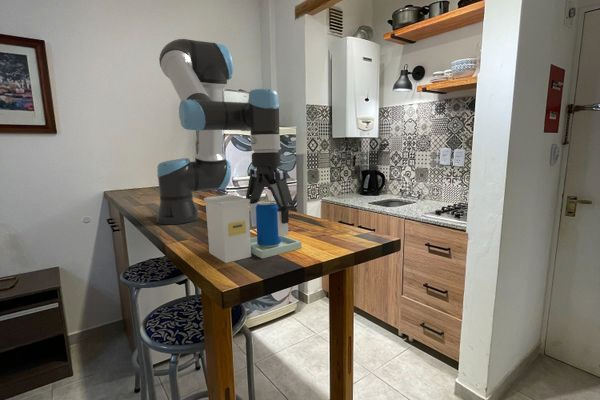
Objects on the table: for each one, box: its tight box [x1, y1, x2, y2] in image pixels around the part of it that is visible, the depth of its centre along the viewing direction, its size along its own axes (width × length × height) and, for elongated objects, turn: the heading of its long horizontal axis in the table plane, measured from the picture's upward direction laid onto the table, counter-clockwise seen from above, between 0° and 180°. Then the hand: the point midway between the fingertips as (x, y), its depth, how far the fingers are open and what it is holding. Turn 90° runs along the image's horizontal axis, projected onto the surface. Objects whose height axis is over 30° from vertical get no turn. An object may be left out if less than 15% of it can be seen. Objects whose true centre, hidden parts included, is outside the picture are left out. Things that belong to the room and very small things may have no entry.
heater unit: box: [203, 194, 252, 264], centre depth 84 cm, size 11×8×15 cm
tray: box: [250, 235, 302, 260], centre depth 90 cm, size 12×12×2 cm
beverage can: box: [256, 200, 281, 248], centre depth 89 cm, size 6×6×12 cm
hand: (269, 230), depth 89 cm, fingers open, 13 cm apart
